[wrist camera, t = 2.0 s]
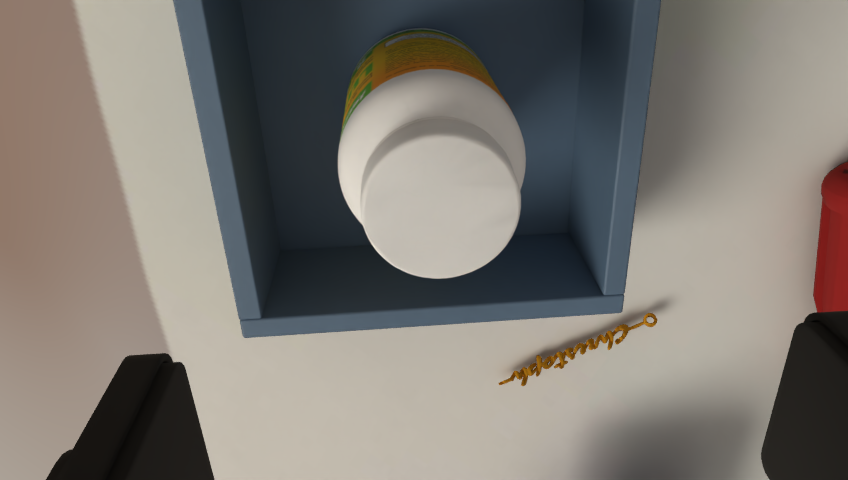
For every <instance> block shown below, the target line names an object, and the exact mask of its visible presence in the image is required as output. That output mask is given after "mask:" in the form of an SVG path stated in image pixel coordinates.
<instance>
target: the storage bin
mask: <svg viewBox="0 0 848 480" xmlns="http://www.w3.org/2000/svg"><path fill="white" fill-rule="evenodd" d="M173 2H174V7H175V12H176V17H177V21H178V26H179V31H180V36H181V41H182V46H183V50H184V55H185V60H186V65H187V70H188V75H189V79H190V84H191V89H192V94H193V99H194V104H195V108H196V113H197V118H198V123H199V128H200V133H201V137H202V142H203V147H204V152H205V157H206V162H207V166H208V171H209V176H210V181H211V186H212V191H213V195H214V200H215V205H216V210H217V215H218V220H219V224H220V229H221V234H222V239H223V244H224V249H225V253H226V258H227V263H228V268H229V273H230V278H231V282H232V287H233V292H234V297H235V302H236V307H237V311H238V316H239V319H240V324H241V329H242V334H243V337H244V338H251V337H266V336H281V335H296V334H311V333H326V332H341V331H356V330H371V329H386V328H401V327H416V326H431V325H446V324H461V323H476V322H491V321H505V320H520V319H535V318H550V317H565V316H580V315H595V314H610V313H621V312H622V309H623V301H624V293H625V285H626V277H627V269H628V261H629V253H630V245H631V237H632V229H633V221H634V213H635V205H636V197H637V189H638V181H639V173H640V165H641V157H642V149H643V141H644V133H645V125H646V117H647V109H648V101H649V93H650V85H651V77H652V69H653V61H654V53H655V45H656V37H657V29H658V21H659V13H660V5H661V0H173ZM413 28H428V29H434V30H439V31H442V32H445V33H448V34H450V35H452V36H454V37H456V38H458V39H460V40H461V41H463V42H464V43H465V44H466V45H468V46H469V47H470V48H471V49H472V50H473V51H474V52H475V53H476V55H477V56H478V57H479V59H480V60H481V61H482V63H483V64H484V66H485V68H486V69H487V71H488V73H489V75H490V76H491V78H492V80H493V82H494V83H495V85H496V87H497V88H498V90H499V91H500V93H501V94H502V96H503V98H504V99H505V101H506V102H507V103H508V105H509V107H510V109H511V111H512V113H513V115H514V117H515V119H516V121H517V123H518V126H519V128H520V131H521V134H522V137H523V140H524V145H525V154H526V167H525V175H524V180H523V184H522V187H521V190H520V194H521V210H520V216H519V221H518V224H517V227H516V229H515V231H514V233H513V236H512V237H511V239H510V241H509V242H508V244H507V245H506V247H505V248H504V249H503V250H502V251H501V252H500V253H499V254H498V255H497V256H496V257H495V258H494V259H493V260H491V261H490V262H489V263H487V264H486V265H484V266H483V267H481V268H478V269H476V270H474V271H472V272H470V273H467V274H464V275H461V276H457V277H451V278H441V279H434V278H425V277H419V276H415V275H412V274H409V273H406V272H404V271H402V270H400V269H398V268H396V267H394V266H393V265H391V264H390V263H389V262H387V261H386V260H385V259H384V258H383V257H382V256H381V255H380V254H379V253H378V252H377V251H376V250H375V248H374V247H373V246H372V244H371V242H370V241H369V239H368V237H367V235H366V232H365V230H364V227H363V225H362V224H361V223H360V222H359V221H358V219H357V218H356V217H355V215H354V214H353V213H352V211H351V209H350V208H349V206H348V204H347V202H346V200H345V198H344V195H343V193H342V189H341V186H340V181H339V175H338V150H339V143H340V137H341V131H342V125H343V118H344V112H345V104H346V98H347V91H348V87H349V83H350V79H351V76H352V74H353V71H354V69H355V68H356V66H357V64H358V62H359V61H360V59H361V58H362V57H363V55H364V54H365V53H366V52H367V51H368V50H369V49H370V48H371V47H372V46H373V45H374V44H375V43H377V42H378V41H380V40H381V39H383V38H385V37H387V36H389V35H391V34H394V33H396V32H399V31H402V30H406V29H413Z"/></svg>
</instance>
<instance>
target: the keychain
mask: <svg viewBox="0 0 848 480" xmlns="http://www.w3.org/2000/svg"><path fill="white" fill-rule="evenodd" d="M647 317H652V318H653V319H654V322H653V323H648V322H647V320H646V318H647ZM656 323H657V318H656V316H655V315H654V314H652V313H648V314H646V315H645V316H644V319H643V322H641V323H639V324H636V325H634V326H632V327H628V326H627V325H626V324H622V325H620V326H618V327H617V328H615V330H614V332H612V331H610V330H609V331H608V332H607V333H606V335H605V337H604V336H603V335H599V336H598V337H597V339H596V342H595V344H594V339H592V338H591V339H588V340H587V342H586V344H583V343H579V344H577V345H576V347H575V349H573V348H567V349H566V350H565V351H564V353H562V352H557V353H556V354H555V355H554V357H553V356H549V357H547V358H546V359H545V361H544V362H542V358H541V356H539V355H537V357H536V358H537V364H536V363H533V364H531V365H530V366H529V367H528V369H527V368H525V367H523V368H522V369H521V371H520V372H518V371H514V372H513V374H512V376H511V378H509V379H507V380H504V381H502V382H500V383H499V385H502V384H505V383H507V382H510V381H513V380H514V378H515V376H516V377H517V379H522V377H523V380H522V384H521V385H522V386H525V385H526V382H527V379H528V375H529V376H532V375H533V374H534V373H535V372H536V376H539V374H540V372H541V368H542V367H543V368H544V369H549V368H550V367H551V366H552V365H553V364H554V362H555V361H556V359H557V357H559V360H560V363H559V364H556V365H555V366H554V368H557V367H560V369H562V368H563V367H564V364H567V363H568V361H564V359H565V355H567V357H569V358H570V359H571V360H573V359H574V358H575V354H576V352H577V351H578V349H579V348H581V350H580V353H581V354H582V355H583V354H584V353H585V352H586V348H587V347H588V345H589V344H590V345H589V350H592V349H596V348H597V347H598V345H599V341H600V340H601V341H602V342H603V343H607V341H608V339H609V344H608V350H610V349H611V347H612V345H613V336H614V335H615V334H616V333H617V332H618V331H623V334H622V336H621V337H620V338H619V339H616V341H615V343H616V344H619V343H620V342H621V341H623V339H624V338H625V337H626V335H627V333H628V331H629V330H632V329H635V328H637V327H639V326H641V325H643V324H645V325H646V326H648V327H653V326H654V325H655V324H656ZM573 350H574V352H573ZM571 352H573V353H571ZM549 361H550V363H549ZM548 363H549V365H548ZM536 365H537V366H536ZM535 366H536V368H535V369H534V370H533V368H534V367H535Z"/></svg>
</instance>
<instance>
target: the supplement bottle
mask: <svg viewBox="0 0 848 480" xmlns="http://www.w3.org/2000/svg"><path fill="white" fill-rule="evenodd" d="M525 167H526V154H525V145H524V140H523V137H522V134H521V131H520V128H519V126H518V123H517V121H516V119H515V117H514V115H513V113H512V111H511V109H510V107H509V105H508V103H507V102H506V101H505V99H504V98H503V96H502V94H501V93H500V91H499V90H498V88H497V87H496V85H495V83H494V82H493V80H492V78H491V76H490V75H489V73H488V71H487V69H486V68H485V66H484V64H483V63H482V61H481V60H480V59H479V57H478V56H477V55H476V53H475V52H474V51H473V50H472V49H471V48H470V47H469V46H468V45H466V44H465V43H464V42H463V41H461V40H460V39H458V38H456V37H454V36H452V35H450V34H448V33H445V32H442V31H439V30H434V29H428V28H413V29H406V30H402V31H399V32H396V33H394V34H391V35H389V36H387V37H385V38H383V39H381V40H380V41H378V42H377V43H375V44H374V45H373V46H372V47H371V48H370V49H369V50H368V51H367V52H366V53H365V54H364V55H363V57H362V58H361V59H360V61H359V62H358V64H357V66H356V68H355V69H354V71H353V74H352V76H351V79H350V83H349V87H348V91H347V98H346V104H345V112H344V118H343V125H342V131H341V137H340V143H339V150H338V175H339V181H340V186H341V189H342V193H343V195H344V198H345V200H346V202H347V204H348V206H349V208H350V209H351V211H352V213H353V214H354V215H355V217H356V218H357V219H358V221H359V222H360V223H361V224H362V225H363V227H364V230H365V232H366V235H367V237H368V239H369V241H370V242H371V244H372V246H373V247H374V248H375V250H376V251H377V252H378V253H379V254H380V255H381V256H382V257H383V258H384V259H385V260H386V261H387V262H389V263H390V264H391V265H393V266H394V267H396V268H398V269H400V270H402V271H404V272H406V273H409V274H412V275H415V276H419V277H425V278H434V279H441V278H451V277H457V276H461V275H464V274H467V273H470V272H472V271H474V270H476V269H478V268H481V267H483V266H484V265H486V264H487V263H489V262H490V261H491V260H493V259H494V258H495V257H496V256H497V255H498V254H499V253H500V252H501V251H502V250H503V249H504V248H505V247H506V245H507V244H508V242H509V241H510V239H511V237H512V236H513V233H514V231H515V229H516V227H517V224H518V221H519V216H520V210H521V194H520V190H521V187H522V184H523V180H524V175H525Z"/></svg>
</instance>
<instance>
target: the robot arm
mask: <svg viewBox="0 0 848 480" xmlns="http://www.w3.org/2000/svg"><path fill="white" fill-rule="evenodd" d="M761 459H762V464H763V468H764V470H765V473H766V474H767V476H768V478H769V479H770V480H848V311H833V312H817V313H812V314H809V315H808V316H807V317H806V319H805V321H804V323H801V324H798V325H797V326H796V328H795V330H794V333H793V337H792V341H791V344H790V348H789V352H788V355H787V359H786V363H785V366H784V370H783V374H782V377H781V381H780V385H779V388H778V392H777V396H776V399H775V403H774V407H773V410H772V414H771V418H770V421H769V425H768V429H767V432H766V436H765V440H764V443H763V447H762V452H761ZM46 480H214V476H213V473H212V469H211V465H210V461H209V457H208V453H207V450H206V446H205V442H204V438H203V434H202V430H201V427H200V423H199V419H198V415H197V411H196V408H195V404H194V400H193V396H192V392H191V388H190V385H189V381H188V377H187V373H186V370H185V367H184V365H183V364H182V363H181V362H174V363H173V361H172V358H171V357H170V356H169V354H166V353H162V354H146V355H131V356H127V357H125V359H124V360H123V361H122V363H121V365H120V366H119V368H118V370H117V372H116V374H115V375H114V377H113V379H112V381H111V382H110V384H109V386H108V388H107V390H106V391H105V393H104V395H103V397H102V398H101V400H100V402H99V404H98V406H97V407H96V409H95V411H94V413H93V414H92V416H91V418H90V420H89V421H88V423H87V425H86V427H85V429H84V430H83V432H82V434H81V436H80V437H79V439H78V441H77V443H76V444H75V447H74V448H73V450H69V451H67V452H66V453H64V454H62V456H61V457H60V458H59V459H58V461H57V462H56V463H55V465H54V467H53V468H52V470H51V472H50V474H49V476H48V477H47V479H46Z"/></svg>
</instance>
